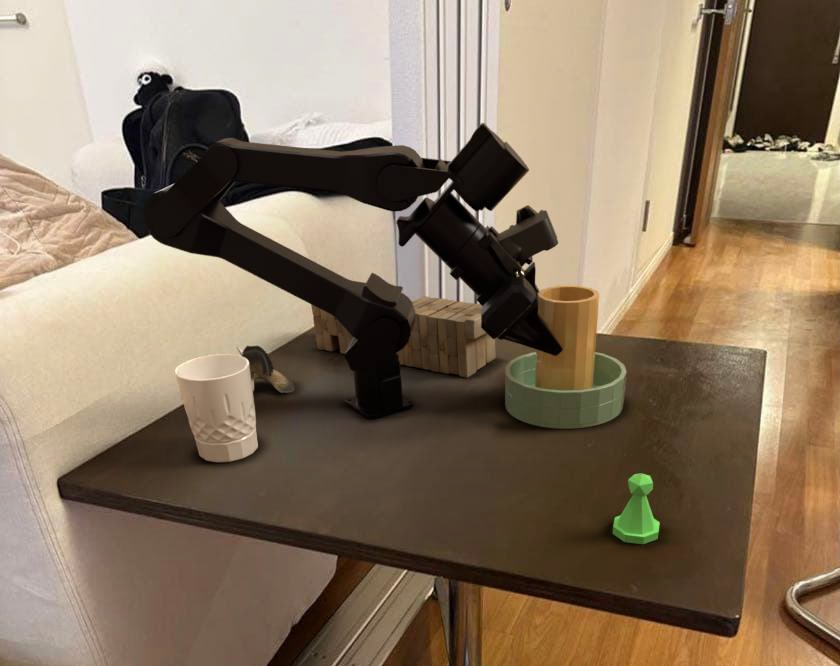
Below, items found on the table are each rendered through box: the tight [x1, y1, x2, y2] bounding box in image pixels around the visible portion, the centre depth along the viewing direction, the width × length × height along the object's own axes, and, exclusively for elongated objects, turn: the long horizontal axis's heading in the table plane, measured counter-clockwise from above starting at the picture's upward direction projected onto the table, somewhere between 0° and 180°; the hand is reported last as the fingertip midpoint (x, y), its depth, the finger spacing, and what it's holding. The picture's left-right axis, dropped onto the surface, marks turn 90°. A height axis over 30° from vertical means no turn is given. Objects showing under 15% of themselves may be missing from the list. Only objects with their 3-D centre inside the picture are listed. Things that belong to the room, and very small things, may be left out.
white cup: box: [174, 353, 259, 463], centre depth 88 cm, size 8×8×10 cm
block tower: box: [310, 295, 496, 378], centre depth 112 cm, size 8×8×29 cm
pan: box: [504, 351, 628, 430], centre depth 96 cm, size 14×14×4 cm
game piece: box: [612, 473, 660, 545], centre depth 70 cm, size 4×4×6 cm
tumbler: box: [535, 284, 600, 391], centre depth 93 cm, size 7×7×13 cm
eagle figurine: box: [236, 345, 295, 394], centre depth 104 cm, size 8×7×9 cm
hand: (557, 339), depth 92 cm, fingers open, 9 cm apart
